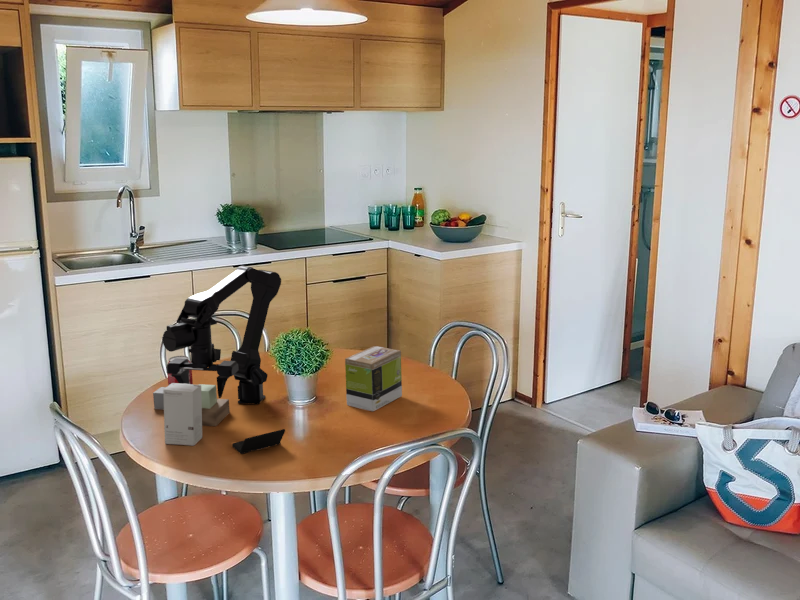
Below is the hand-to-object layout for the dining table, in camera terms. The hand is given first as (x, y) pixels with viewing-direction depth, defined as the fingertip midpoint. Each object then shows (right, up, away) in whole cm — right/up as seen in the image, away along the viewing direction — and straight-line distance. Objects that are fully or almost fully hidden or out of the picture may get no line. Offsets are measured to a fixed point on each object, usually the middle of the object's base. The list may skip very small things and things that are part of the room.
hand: (204, 396), depth 212 cm
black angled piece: (+18, -11, -17) cm, 27 cm away
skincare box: (-2, -10, -13) cm, 17 cm away
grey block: (-14, -4, +11) cm, 18 cm away
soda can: (-12, -2, +18) cm, 22 cm away
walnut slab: (0, -6, +2) cm, 6 cm away
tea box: (+47, -3, +14) cm, 49 cm away
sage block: (0, -2, +1) cm, 2 cm away
